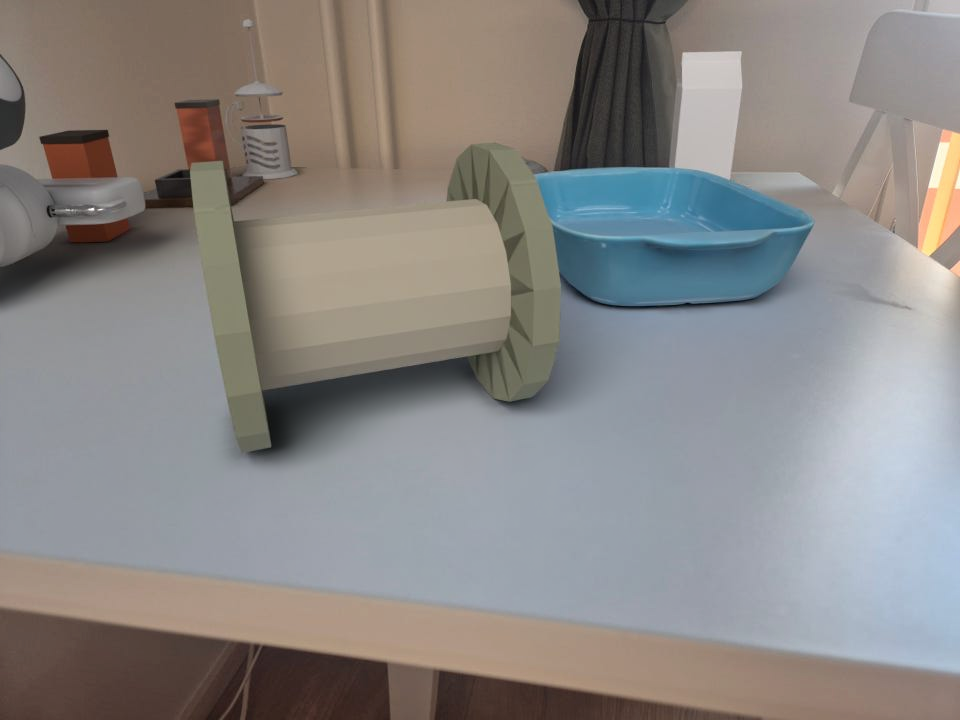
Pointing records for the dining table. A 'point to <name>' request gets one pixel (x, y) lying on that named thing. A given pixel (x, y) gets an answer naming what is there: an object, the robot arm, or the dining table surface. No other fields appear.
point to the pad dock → (199, 157)
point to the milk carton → (706, 112)
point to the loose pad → (83, 173)
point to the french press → (263, 133)
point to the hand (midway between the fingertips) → (75, 186)
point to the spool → (382, 287)
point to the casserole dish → (668, 235)
